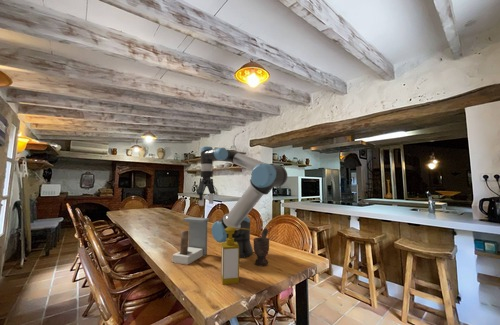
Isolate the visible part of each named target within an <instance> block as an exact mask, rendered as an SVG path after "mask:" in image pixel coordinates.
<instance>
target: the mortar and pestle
mask: <svg viewBox="0 0 500 325" xmlns="http://www.w3.org/2000/svg"><path fill="white" fill-rule="evenodd" d="M268 234H269V229H268V228H263V229H262V234H261V236H259V237H258V236H257V237H254V238H253V250H254V254H255V255H256V257H257V258H256V259H255V260H254V264H255V266H262V267H265V266H267V265H269V261H268V259H267V258H266V257H267V255H268V254H269V250H270V238H269V237H267V236H268Z"/></svg>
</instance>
